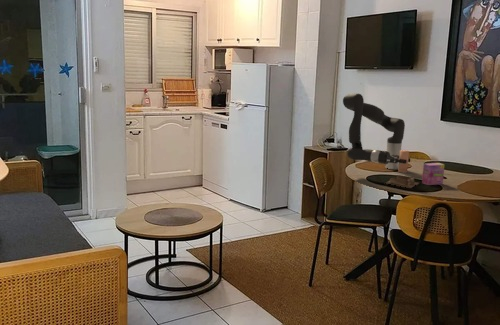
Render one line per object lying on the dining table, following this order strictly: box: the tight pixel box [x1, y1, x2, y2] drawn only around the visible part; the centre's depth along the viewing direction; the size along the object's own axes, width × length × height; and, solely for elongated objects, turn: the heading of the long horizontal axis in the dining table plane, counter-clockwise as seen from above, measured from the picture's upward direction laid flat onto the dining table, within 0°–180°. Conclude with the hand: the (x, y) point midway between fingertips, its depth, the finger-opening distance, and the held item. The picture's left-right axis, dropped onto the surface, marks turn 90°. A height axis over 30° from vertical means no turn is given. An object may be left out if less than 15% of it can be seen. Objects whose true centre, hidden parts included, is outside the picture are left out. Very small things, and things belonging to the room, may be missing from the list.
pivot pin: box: [397, 149, 410, 173], centre depth 284 cm, size 5×5×12 cm
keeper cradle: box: [385, 174, 420, 189], centre depth 287 cm, size 14×15×4 cm
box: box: [421, 162, 446, 186], centre depth 288 cm, size 10×6×12 cm, turn 105°
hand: (408, 161), depth 283 cm, fingers closed on pivot pin, 5 cm apart
